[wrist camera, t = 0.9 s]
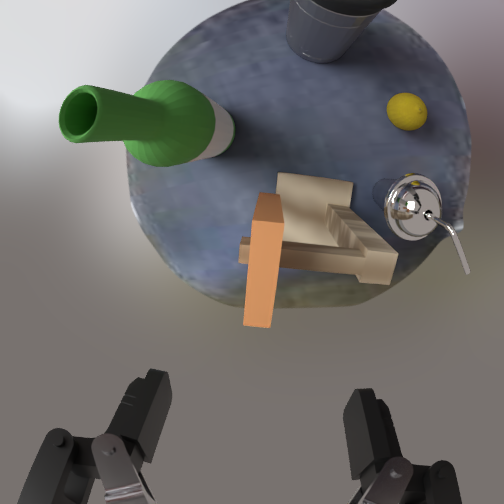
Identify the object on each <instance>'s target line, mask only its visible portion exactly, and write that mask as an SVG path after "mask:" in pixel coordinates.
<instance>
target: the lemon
mask: <svg viewBox="0 0 504 504" xmlns="http://www.w3.org/2000/svg"><path fill="white" fill-rule="evenodd" d="M387 115H388V117H389V119H390V121H391V122H392V123H393V124H394V125H395V126H396V127H398V128H400V129H403V130H415V129H418V128H419V127H421V126H422V125H423V124H424V123H425V121H426V119H427V108H426V106H425V104H424V102H423V101H422V100H421V99H420V98H419V97H418V96H416V95H414V94H410V93H399V94H397V95H395V96H393V97H392V98H391V99H390V101H389V102H388V105H387Z"/></svg>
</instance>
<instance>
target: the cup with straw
mask: <svg viewBox="0 0 504 504" xmlns="http://www.w3.org/2000/svg"><path fill="white" fill-rule="evenodd" d="M372 195H373V199H374V201H375V202H376V204H377V205H378V206H379V207H380V208H381V209H382V210H383V211H384V214H385V219H386V222H387V225H388V226H389V228H390V230H391V231H392V232H393V233H394V234H395V235H396V236H398V237H400V238H402V239H405V240H410V241H411V240H419V239H422V238H424V237H426V236H427V235H428V234H430V233H431V232H433V231H434V230H435V229H436V228H437V226H438V225H440V226H441V227H443V228H444V229H446V230H447V231H448V232H449V234H450V235H451V237H452V239H453V242H454V245H455V247H456V250H457V252H458V255H459V258H460V260H461V263H462V266H463V268H464V272H465V274H469V273H470V268H469V265H468V262H467V259H466V256H465V254H464V251H463V248H462V246H461V243H460V241H459V238H458V235H457V233H456V231H455V229H454V228H453V227H452V226H451V224H449V223H447V222H446V221H444V220H442V219H441V217H442V201H441V196H440V193H439V190H438V188H437V187H436V185H435V184H434V183H433V182H432V181H431V180H430V179H429V178H427V177H426V176H424V175H421V174H418V173H410V174H406V175H404V176H401V177H400V178H399V179H385V178H384V179H381V180H379V181H377V182H376V183H375V185H374V187H373V191H372Z"/></svg>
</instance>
